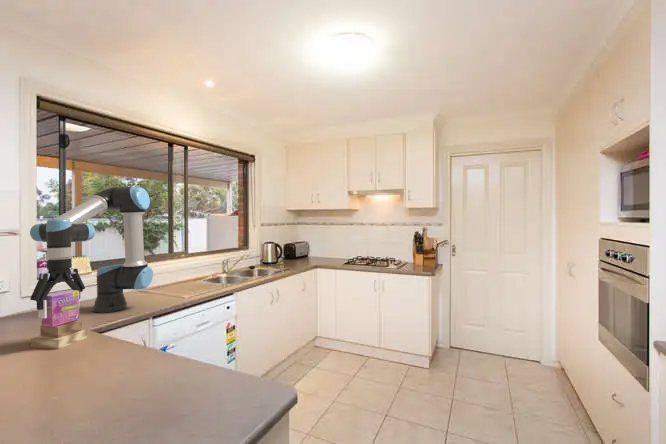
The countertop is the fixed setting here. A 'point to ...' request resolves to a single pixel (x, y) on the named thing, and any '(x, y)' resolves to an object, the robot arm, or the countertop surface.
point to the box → (61, 308)
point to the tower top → (61, 329)
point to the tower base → (58, 340)
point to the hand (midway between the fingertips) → (60, 313)
